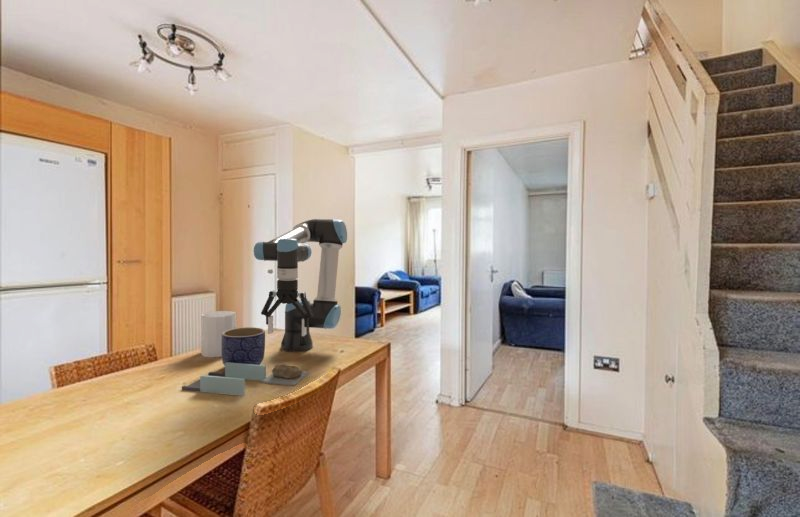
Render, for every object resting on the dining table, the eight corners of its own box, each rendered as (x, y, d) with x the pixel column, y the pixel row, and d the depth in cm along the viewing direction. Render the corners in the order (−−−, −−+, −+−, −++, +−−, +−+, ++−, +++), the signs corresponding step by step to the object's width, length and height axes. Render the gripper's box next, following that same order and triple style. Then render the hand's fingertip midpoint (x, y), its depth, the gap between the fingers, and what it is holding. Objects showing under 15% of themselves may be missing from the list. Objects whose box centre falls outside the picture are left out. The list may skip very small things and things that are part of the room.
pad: (278, 370, 150) (278, 369, 150) (308, 373, 148) (308, 371, 148) (261, 382, 137) (261, 381, 137) (294, 385, 135) (294, 384, 135)
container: (201, 358, 162) (202, 318, 161) (200, 350, 174) (200, 312, 174) (237, 354, 169) (238, 315, 169) (234, 346, 182) (234, 310, 181)
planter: (228, 377, 141) (228, 339, 141) (215, 366, 154) (216, 330, 153) (271, 368, 152) (271, 333, 151) (256, 358, 165) (256, 325, 164)
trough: (210, 374, 144) (210, 360, 143) (265, 379, 140) (265, 365, 140) (181, 389, 129) (181, 374, 129) (243, 395, 125) (243, 379, 125)
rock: (295, 381, 138) (295, 369, 138) (268, 378, 140) (268, 366, 140) (304, 374, 146) (304, 363, 146) (278, 371, 148) (278, 360, 148)
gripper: (251, 278, 139) (251, 334, 141) (315, 281, 135) (314, 338, 137) (261, 276, 146) (262, 329, 148) (322, 279, 143) (321, 333, 144)
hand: (287, 334), depth 142 cm, fingers open, 13 cm apart
